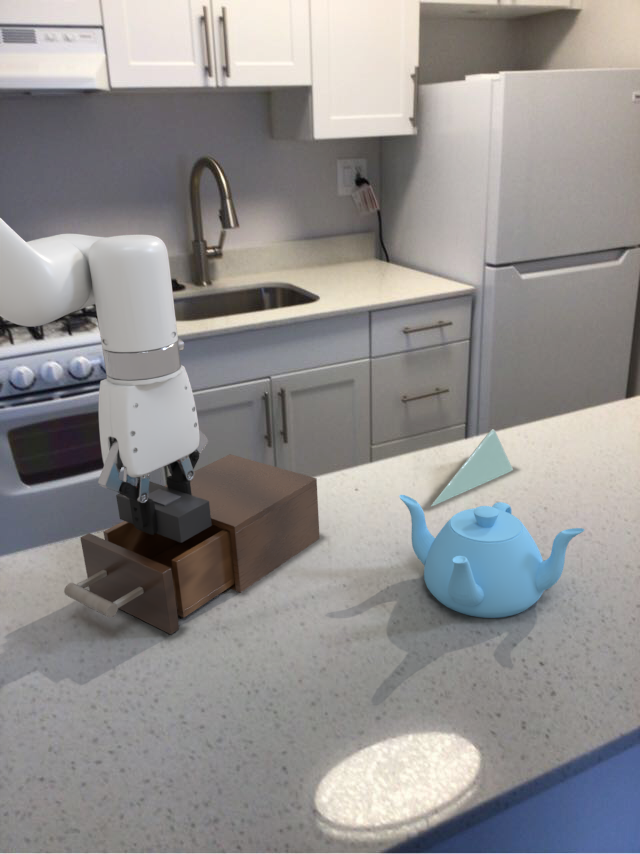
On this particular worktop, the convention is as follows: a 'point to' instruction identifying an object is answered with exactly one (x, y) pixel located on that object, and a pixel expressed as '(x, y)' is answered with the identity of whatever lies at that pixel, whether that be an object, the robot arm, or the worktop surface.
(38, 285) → the robot arm
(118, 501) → the remote
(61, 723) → the worktop surface
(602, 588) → the worktop surface
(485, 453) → the pale green wedge
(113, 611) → the drawer
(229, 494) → the cabinet
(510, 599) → the teapot
